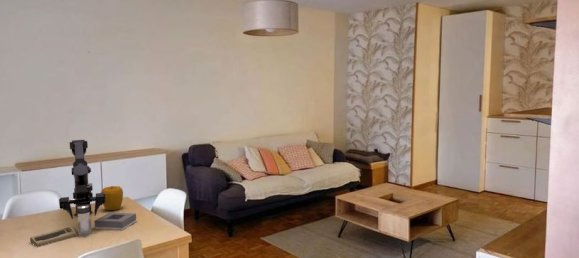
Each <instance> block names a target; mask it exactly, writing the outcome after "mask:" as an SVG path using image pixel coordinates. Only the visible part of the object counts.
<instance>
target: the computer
mask: <svg viewBox="0 0 579 258" xmlns="http://www.w3.org/2000/svg"><path fill="white" fill-rule="evenodd" d="M76 236H77V232H76V231H75V230H74V229H72V228H71V227H63V228H60V229H57V230H52V231H50V232H46V233H42V234H41V233H40V234H38V235H33V236H31V237H29V238H30V239H29V240H30V241H29V242H31V243H32V244H31V243H30V244H31V245H33V244H34V245H33V246H34V247H36V246H39V247H42V246H41V245H43V246H46V245H49V244H48V243H50V244H52V242H53V243H57V242H60V241H64V240H67V239H71V238H75V237H76ZM56 241H57V242H56ZM45 244H46V245H45Z"/></svg>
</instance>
